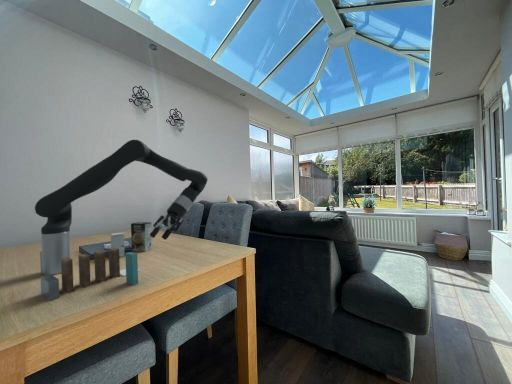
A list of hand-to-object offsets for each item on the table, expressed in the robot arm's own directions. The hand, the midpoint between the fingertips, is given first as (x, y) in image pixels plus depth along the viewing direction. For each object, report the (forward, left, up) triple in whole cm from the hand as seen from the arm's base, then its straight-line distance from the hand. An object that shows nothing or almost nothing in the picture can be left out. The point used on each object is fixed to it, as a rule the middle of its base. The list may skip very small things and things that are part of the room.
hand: (157, 237), depth 90 cm
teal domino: (-5, -9, -15) cm, 18 cm away
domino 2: (-22, -11, -15) cm, 29 cm away
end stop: (-27, -19, -15) cm, 36 cm away
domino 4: (-17, -2, -15) cm, 23 cm away
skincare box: (-36, +25, -15) cm, 46 cm away
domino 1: (-25, -15, -15) cm, 33 cm away
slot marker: (-15, +2, -15) cm, 21 cm away
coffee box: (-30, +37, -15) cm, 50 cm away
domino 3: (-20, -7, -15) cm, 26 cm away
